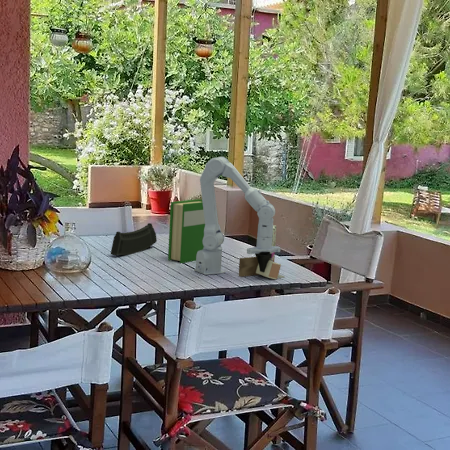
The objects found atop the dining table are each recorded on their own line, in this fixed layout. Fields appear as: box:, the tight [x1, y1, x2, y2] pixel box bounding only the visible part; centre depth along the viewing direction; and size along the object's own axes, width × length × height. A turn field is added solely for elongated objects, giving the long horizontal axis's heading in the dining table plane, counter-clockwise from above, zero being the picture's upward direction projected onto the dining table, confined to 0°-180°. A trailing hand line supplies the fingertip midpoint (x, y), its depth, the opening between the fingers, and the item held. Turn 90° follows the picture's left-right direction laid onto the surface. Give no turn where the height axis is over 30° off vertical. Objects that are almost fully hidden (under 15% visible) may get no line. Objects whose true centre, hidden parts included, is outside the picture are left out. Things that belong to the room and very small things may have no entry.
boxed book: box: [256, 261, 282, 280], centre depth 259 cm, size 4×8×6 cm, turn 35°
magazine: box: [110, 222, 158, 256], centre depth 290 cm, size 17×3×30 cm
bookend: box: [277, 273, 286, 279], centre depth 263 cm, size 4×7×4 cm, turn 35°
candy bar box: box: [270, 224, 277, 262], centre depth 277 cm, size 11×5×16 cm, turn 168°
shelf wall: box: [238, 256, 270, 278], centre depth 262 cm, size 14×1×7 cm, turn 125°
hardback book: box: [167, 199, 205, 264], centre depth 282 cm, size 18×7×24 cm, turn 143°
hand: (262, 271), depth 258 cm, fingers closed, pressing on boxed book
